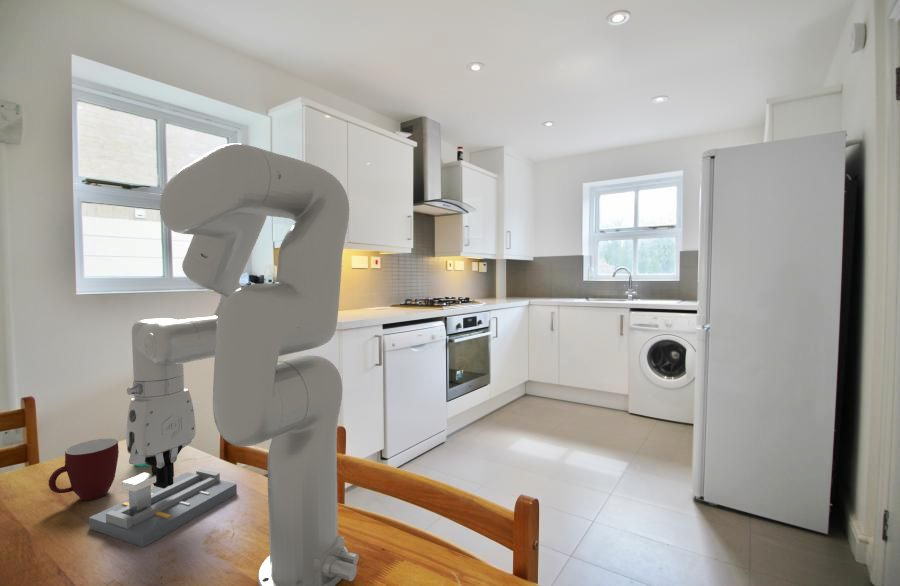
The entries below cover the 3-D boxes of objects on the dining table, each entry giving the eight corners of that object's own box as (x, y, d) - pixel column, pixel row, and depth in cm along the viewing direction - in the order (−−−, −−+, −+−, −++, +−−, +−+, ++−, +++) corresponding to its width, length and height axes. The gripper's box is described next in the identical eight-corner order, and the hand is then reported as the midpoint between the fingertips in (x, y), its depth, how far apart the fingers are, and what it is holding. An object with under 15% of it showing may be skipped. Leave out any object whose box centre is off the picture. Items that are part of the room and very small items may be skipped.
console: (236, 493, 85) (236, 476, 85) (143, 547, 69) (142, 526, 69) (187, 481, 91) (186, 465, 90) (89, 528, 74) (88, 508, 74)
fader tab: (157, 508, 76) (156, 475, 76) (135, 518, 73) (134, 484, 72) (145, 504, 77) (143, 472, 77) (123, 514, 74) (122, 481, 74)
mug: (62, 517, 77) (59, 463, 77) (42, 506, 81) (40, 454, 81) (128, 491, 87) (126, 442, 86) (108, 482, 90) (106, 435, 90)
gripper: (129, 400, 70) (133, 510, 70) (211, 378, 83) (214, 471, 84) (100, 395, 72) (105, 501, 73) (184, 375, 86) (187, 465, 87)
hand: (163, 485), depth 79 cm, fingers closed
